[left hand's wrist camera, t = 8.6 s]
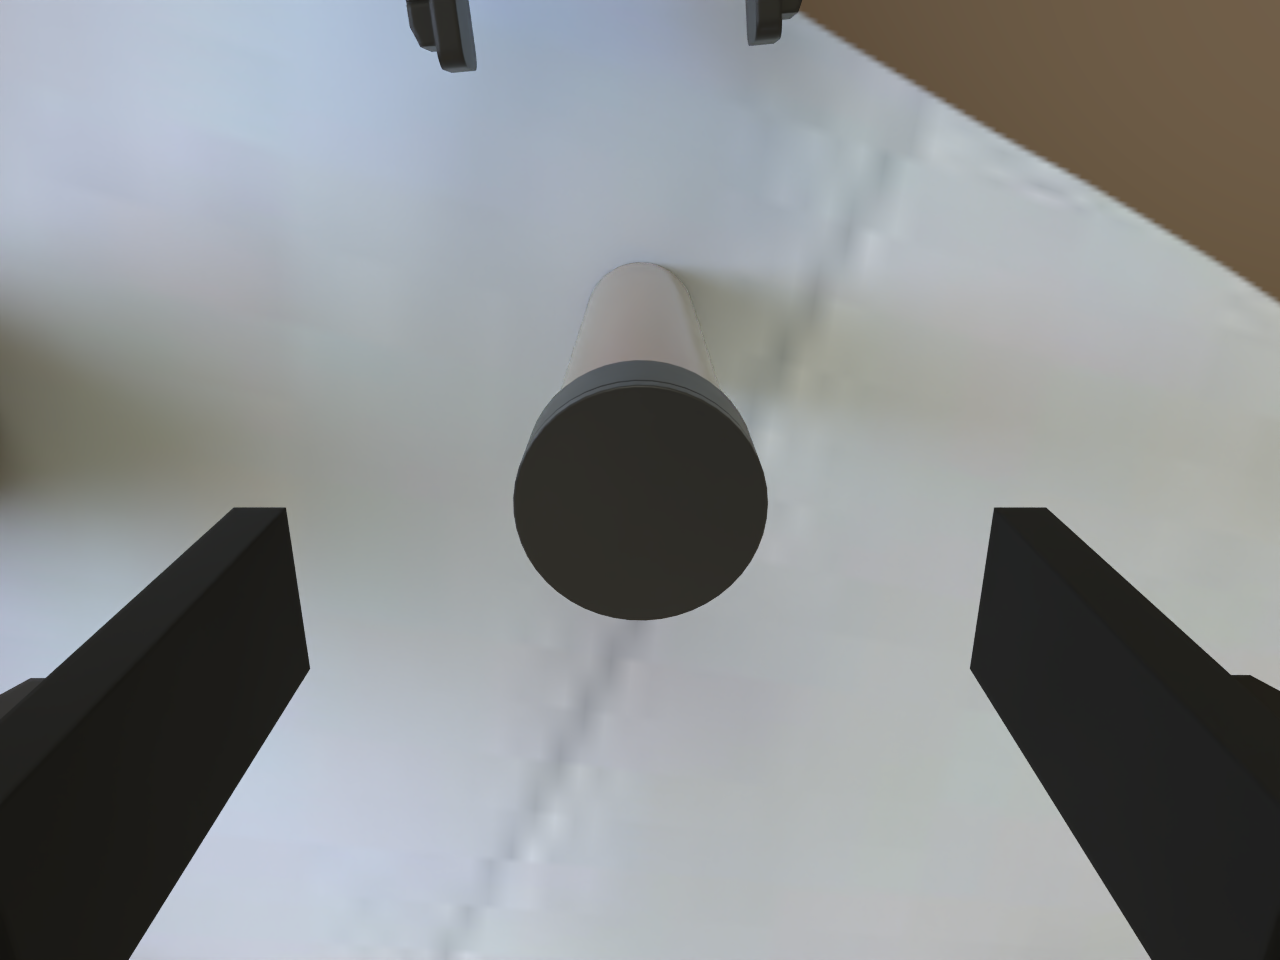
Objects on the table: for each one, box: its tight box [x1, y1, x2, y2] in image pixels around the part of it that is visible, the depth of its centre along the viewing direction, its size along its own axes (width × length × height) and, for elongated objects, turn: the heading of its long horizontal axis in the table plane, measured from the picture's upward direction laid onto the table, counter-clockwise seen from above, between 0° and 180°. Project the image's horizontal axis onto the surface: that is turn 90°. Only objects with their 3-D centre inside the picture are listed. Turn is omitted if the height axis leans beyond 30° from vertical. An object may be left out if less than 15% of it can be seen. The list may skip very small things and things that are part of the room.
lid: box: [513, 360, 768, 620], centre depth 17 cm, size 5×5×2 cm
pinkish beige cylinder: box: [560, 262, 720, 391], centre depth 26 cm, size 4×4×19 cm
